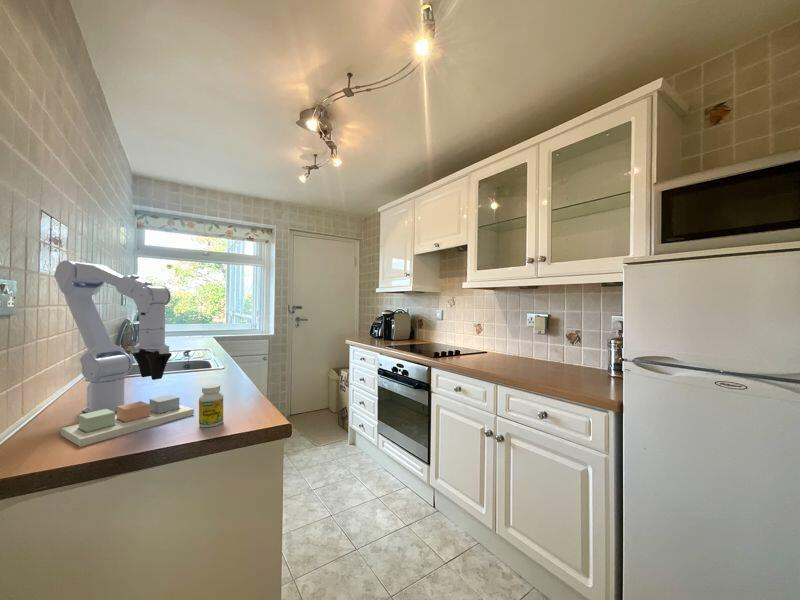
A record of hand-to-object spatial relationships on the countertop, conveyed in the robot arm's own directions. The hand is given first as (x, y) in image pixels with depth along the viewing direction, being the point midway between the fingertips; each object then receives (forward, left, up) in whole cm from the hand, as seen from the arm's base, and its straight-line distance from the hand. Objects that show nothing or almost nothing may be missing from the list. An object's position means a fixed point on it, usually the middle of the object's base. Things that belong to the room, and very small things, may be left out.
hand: (151, 377), depth 90 cm
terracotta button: (+5, -6, -8) cm, 11 cm away
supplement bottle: (+22, +4, -10) cm, 25 cm away
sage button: (+5, -13, -8) cm, 16 cm away
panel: (+5, -6, -10) cm, 13 cm away
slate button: (+5, +1, -8) cm, 10 cm away
